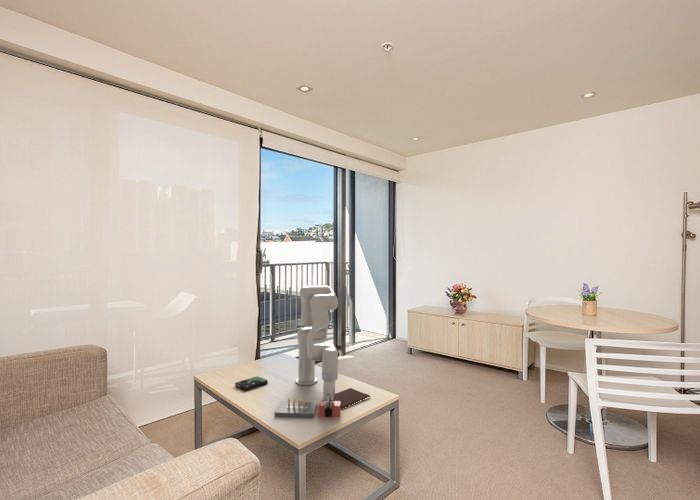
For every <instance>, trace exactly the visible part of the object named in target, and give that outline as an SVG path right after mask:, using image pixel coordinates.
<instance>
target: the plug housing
mask: <svg viewBox="0 0 700 500" xmlns="http://www.w3.org/2000/svg"><path fill="white" fill-rule="evenodd" d="M325 403H326V401H325V402H323V400H319V402H318V403H317V417H318V418H326V417H325ZM329 404H330V403H329ZM331 408H332V417H340V418H341V410H342V409H341V401H333V402H332V405H331Z"/></svg>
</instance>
